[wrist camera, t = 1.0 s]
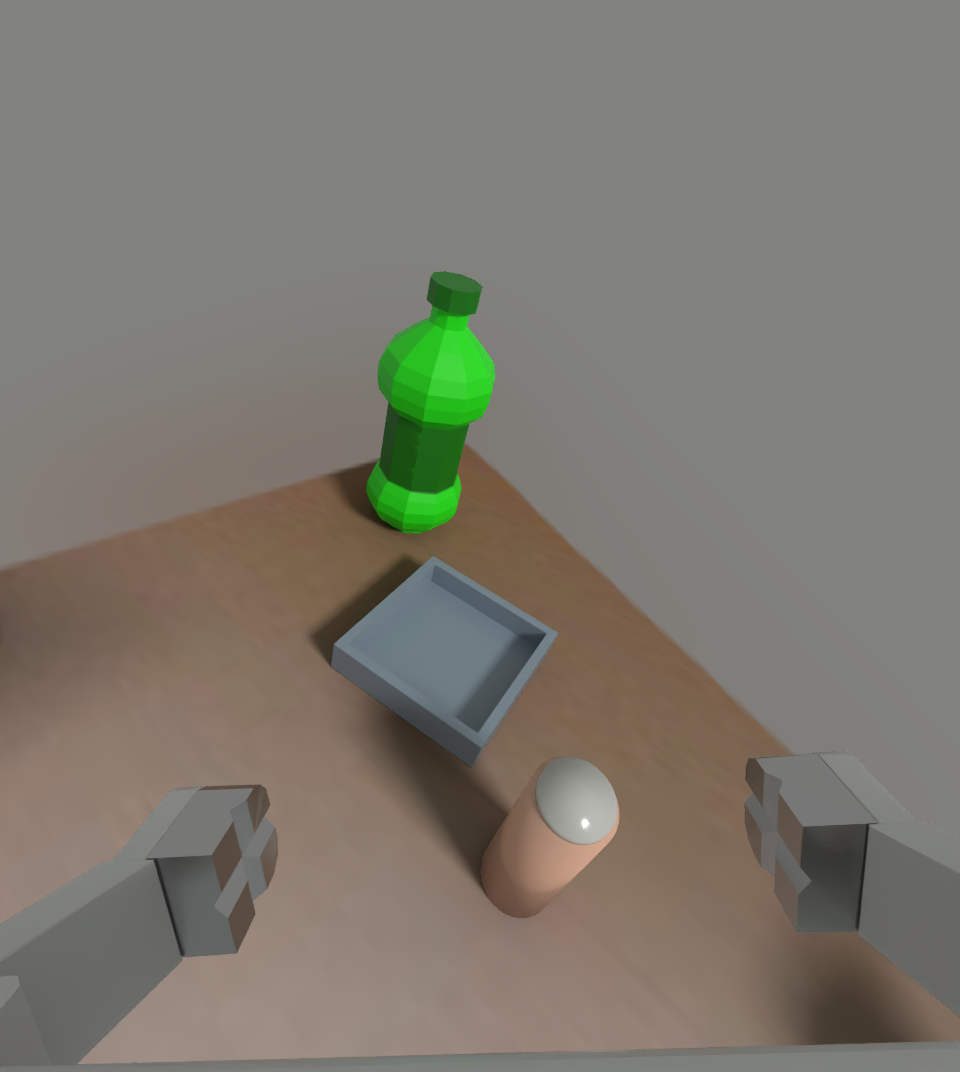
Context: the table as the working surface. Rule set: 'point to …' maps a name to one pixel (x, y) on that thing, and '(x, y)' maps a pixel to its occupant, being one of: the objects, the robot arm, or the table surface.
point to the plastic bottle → (430, 408)
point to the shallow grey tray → (445, 657)
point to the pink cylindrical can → (549, 835)
